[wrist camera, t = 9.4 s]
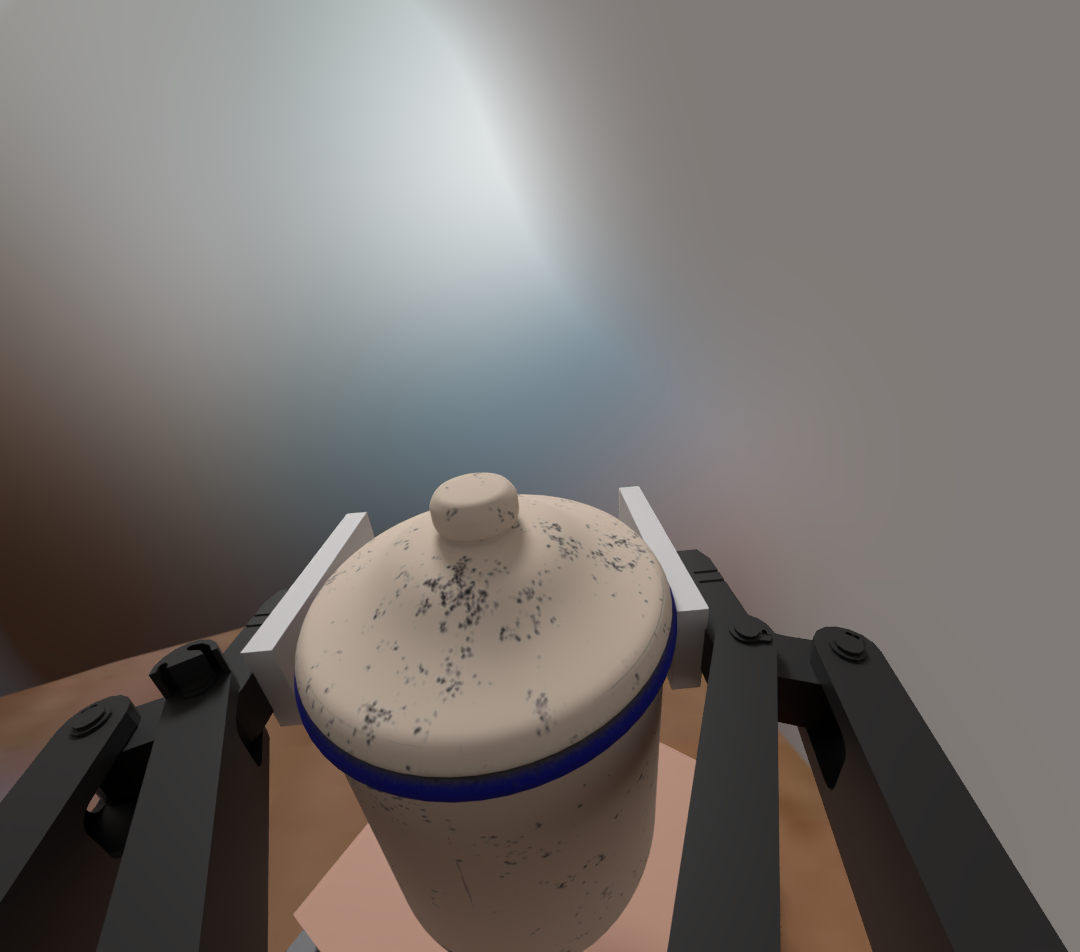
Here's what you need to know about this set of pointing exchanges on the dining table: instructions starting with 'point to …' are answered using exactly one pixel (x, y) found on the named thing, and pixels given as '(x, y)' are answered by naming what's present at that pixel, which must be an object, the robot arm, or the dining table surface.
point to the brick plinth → (406, 948)
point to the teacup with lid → (498, 710)
